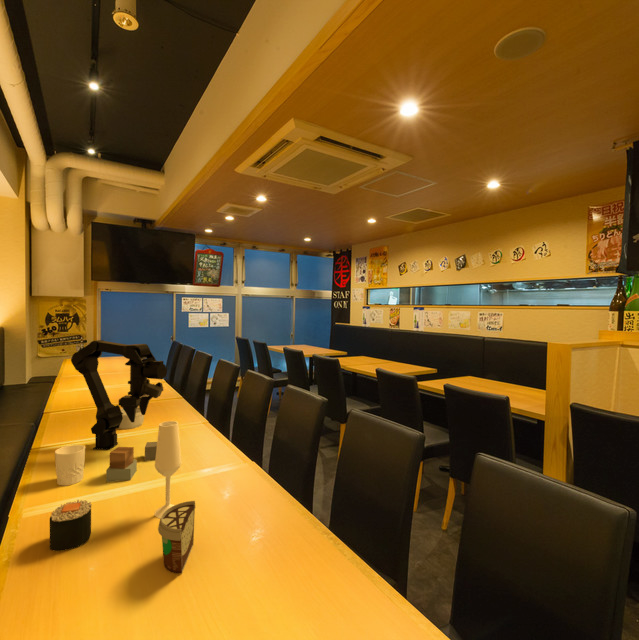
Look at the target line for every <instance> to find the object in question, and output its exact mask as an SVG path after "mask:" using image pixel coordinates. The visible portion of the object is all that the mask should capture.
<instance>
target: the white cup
mask: <svg viewBox="0 0 639 640" xmlns="http://www.w3.org/2000/svg"><path fill="white" fill-rule="evenodd" d="M85 457H86V446H85V445H83V444H71V445H65V446H62V447H59V448H57V449H55V451H54V459H55V460H54V461H55V472H56V473H55V474H56V483H57V485H58V486H70V485H75V484H78V483H80V482H81V481H82V480H83V479H84V469H85V462H86V460H85V459H86V458H85Z"/></svg>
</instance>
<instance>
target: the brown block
mask: <svg viewBox="0 0 639 640" xmlns="http://www.w3.org/2000/svg"><path fill="white" fill-rule="evenodd" d="M156 449H157V441H150V442H149V441H146V443H145V446H144V462H149V461H150V462H151V461H155V458H156Z"/></svg>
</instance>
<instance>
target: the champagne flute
mask: <svg viewBox="0 0 639 640" xmlns="http://www.w3.org/2000/svg"><path fill="white" fill-rule="evenodd" d="M156 442H157V449H156V458H155V460H154V468H155V470H156V471H157V472H158V474H160V475H161V476H163V477H165V504H164V505H162V506H160V507H159V508H158V509H156V510H155V511H154V517H156V518H158V519H161V517H162V515H163V513H164V512H165V511H166V510H167V509H169V508H170V507H172V506H174V505H175V504H172V503H171V478H172V476H173V475H174V474H175V473H176V472H177V471H179V469H180V468H181V465H182V464H183V462H182V451H181V450H182V449H181V441H180V428H179V422H178V421H176V420H166V421H163V422H160V423H158V434H157V440H156Z"/></svg>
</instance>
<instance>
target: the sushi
mask: <svg viewBox="0 0 639 640" xmlns="http://www.w3.org/2000/svg"><path fill="white" fill-rule="evenodd" d="M92 506H93V505H92V502H91V501H89V502H88V500H84V499H83V500H79V499H76V501H75V500H74V501H68V502H66V503H64V504H61V505H60V506H57V508H55V510H53V511H52V512H51V514H50V517H49V550H50V551H54V552H64V551H68V550H72V549H77V548H79V547H81V546H83V545H84V544H86V543H88V541H89V540H90V538H91V535H92Z"/></svg>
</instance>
